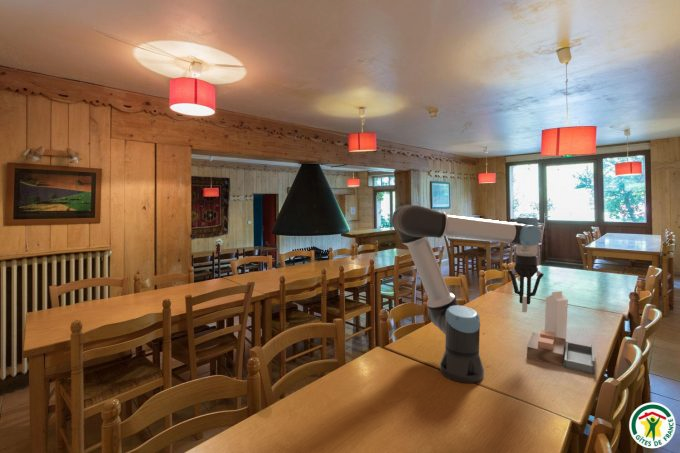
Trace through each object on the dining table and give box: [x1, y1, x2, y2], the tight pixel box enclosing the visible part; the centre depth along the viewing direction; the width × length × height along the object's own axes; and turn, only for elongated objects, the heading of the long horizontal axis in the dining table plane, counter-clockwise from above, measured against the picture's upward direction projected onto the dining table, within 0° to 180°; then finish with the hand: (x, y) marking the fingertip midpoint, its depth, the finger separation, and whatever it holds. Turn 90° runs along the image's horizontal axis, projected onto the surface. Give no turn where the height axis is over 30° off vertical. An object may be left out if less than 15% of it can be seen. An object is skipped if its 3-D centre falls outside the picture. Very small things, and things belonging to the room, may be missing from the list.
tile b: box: [539, 329, 555, 341], centre depth 142 cm, size 5×5×2 cm
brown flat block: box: [526, 332, 566, 367], centre depth 139 cm, size 12×18×4 cm, turn 144°
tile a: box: [538, 337, 554, 350], centre depth 135 cm, size 5×5×2 cm
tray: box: [563, 341, 596, 375], centre depth 132 cm, size 9×20×5 cm, turn 144°
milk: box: [544, 290, 569, 342], centre depth 152 cm, size 6×6×22 cm
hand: (524, 311), depth 139 cm, fingers closed
